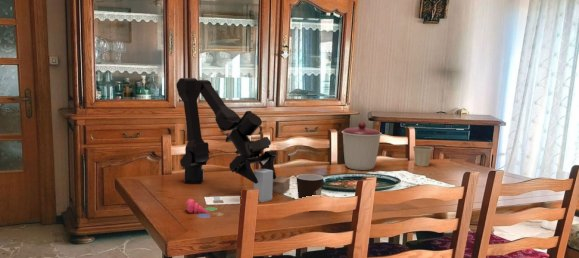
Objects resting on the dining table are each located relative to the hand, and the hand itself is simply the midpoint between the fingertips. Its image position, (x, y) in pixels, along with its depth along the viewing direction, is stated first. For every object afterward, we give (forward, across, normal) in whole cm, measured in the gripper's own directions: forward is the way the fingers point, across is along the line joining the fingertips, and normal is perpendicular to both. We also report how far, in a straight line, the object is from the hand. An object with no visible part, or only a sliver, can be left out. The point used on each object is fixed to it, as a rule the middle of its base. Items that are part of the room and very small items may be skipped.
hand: (266, 180), depth 165 cm
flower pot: (+13, +99, -4) cm, 100 cm away
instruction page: (-2, -10, +12) cm, 16 cm away
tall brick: (+4, 0, +6) cm, 7 cm away
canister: (+1, +71, +9) cm, 71 cm away
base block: (0, +13, +9) cm, 16 cm away
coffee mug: (+16, +5, -6) cm, 18 cm away
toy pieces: (+2, -23, +8) cm, 25 cm away
